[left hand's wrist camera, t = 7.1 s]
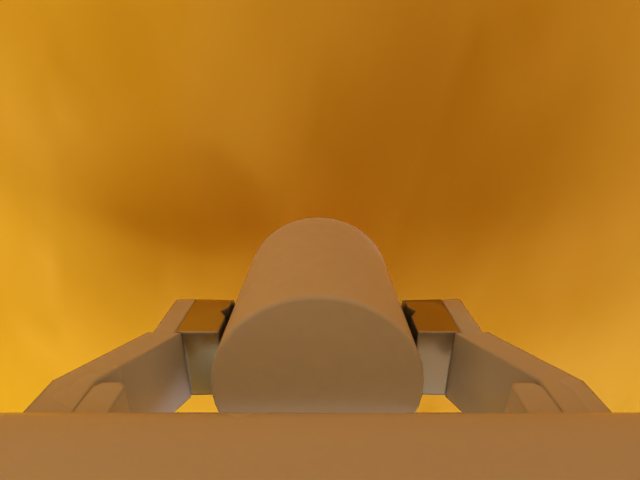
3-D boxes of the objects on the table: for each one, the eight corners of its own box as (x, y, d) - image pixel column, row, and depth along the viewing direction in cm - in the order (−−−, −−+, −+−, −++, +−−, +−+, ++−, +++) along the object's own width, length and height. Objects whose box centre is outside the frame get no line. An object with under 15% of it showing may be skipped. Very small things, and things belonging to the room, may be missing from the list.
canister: (311, 359, 14) (307, 494, 9) (221, 274, 13) (164, 380, 8) (413, 287, 13) (467, 399, 8) (326, 187, 12) (330, 251, 7)
